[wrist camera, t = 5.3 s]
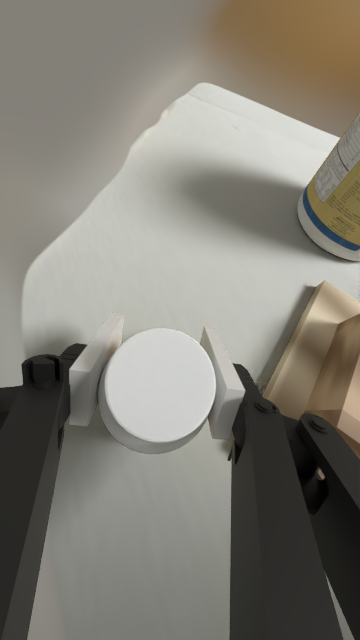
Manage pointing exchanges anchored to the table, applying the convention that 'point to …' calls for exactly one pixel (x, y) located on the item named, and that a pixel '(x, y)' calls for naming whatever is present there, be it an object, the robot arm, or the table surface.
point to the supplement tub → (336, 198)
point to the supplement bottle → (156, 391)
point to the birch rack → (323, 365)
